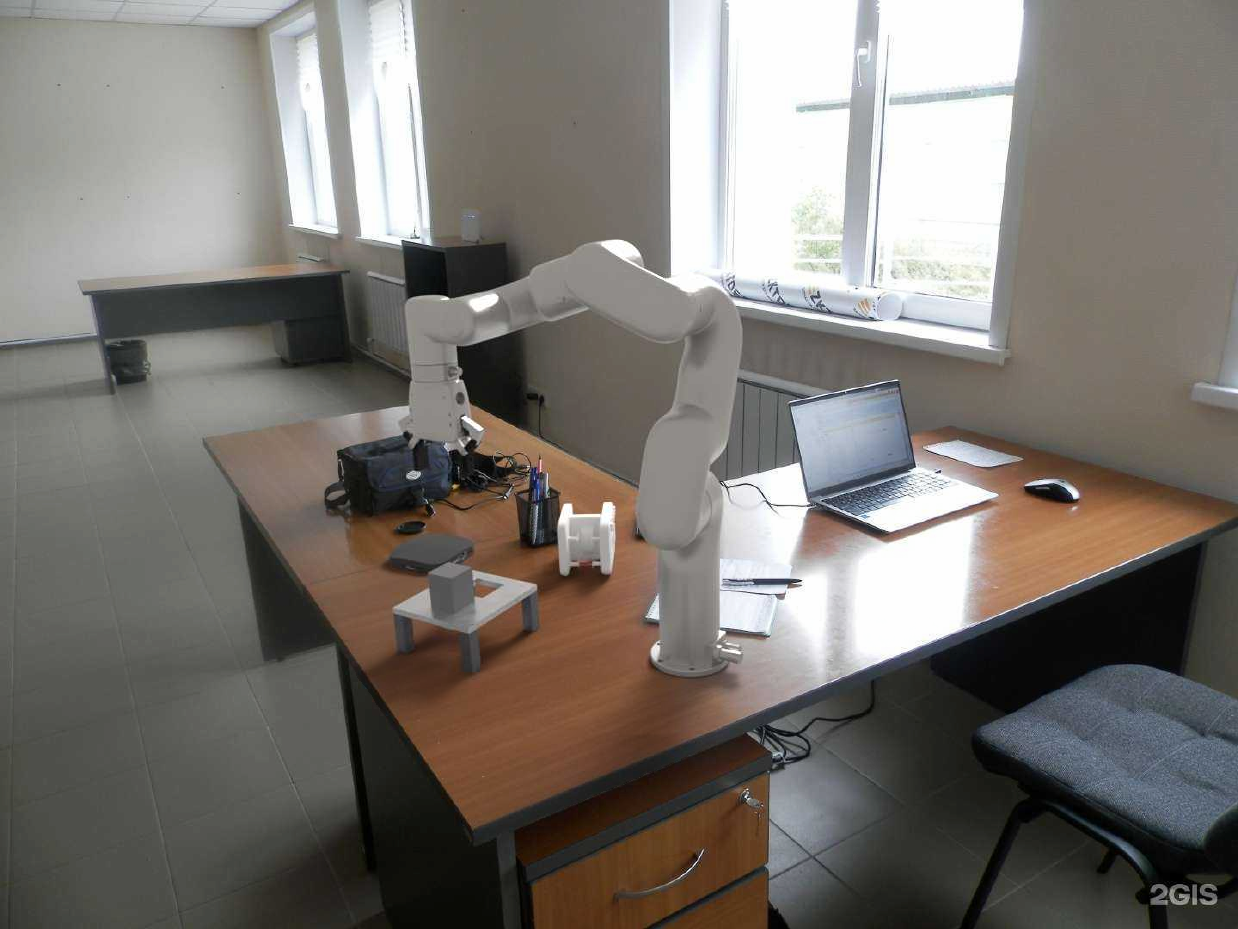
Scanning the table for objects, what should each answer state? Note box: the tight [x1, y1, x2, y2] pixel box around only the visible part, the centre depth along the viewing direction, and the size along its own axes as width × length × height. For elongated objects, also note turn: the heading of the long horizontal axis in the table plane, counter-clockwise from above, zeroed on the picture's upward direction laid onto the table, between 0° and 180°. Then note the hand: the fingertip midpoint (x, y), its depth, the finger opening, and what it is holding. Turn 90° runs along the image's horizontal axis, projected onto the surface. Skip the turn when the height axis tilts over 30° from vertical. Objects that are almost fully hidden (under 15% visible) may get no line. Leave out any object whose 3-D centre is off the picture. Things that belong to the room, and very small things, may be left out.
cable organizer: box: [556, 501, 616, 577], centre depth 179 cm, size 15×11×12 cm
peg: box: [427, 562, 475, 630], centre depth 146 cm, size 5×5×10 cm
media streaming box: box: [389, 533, 475, 574], centre depth 187 cm, size 15×15×3 cm
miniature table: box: [392, 569, 541, 675], centre depth 151 cm, size 16×18×8 cm
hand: (444, 472), depth 151 cm, fingers open, 9 cm apart
